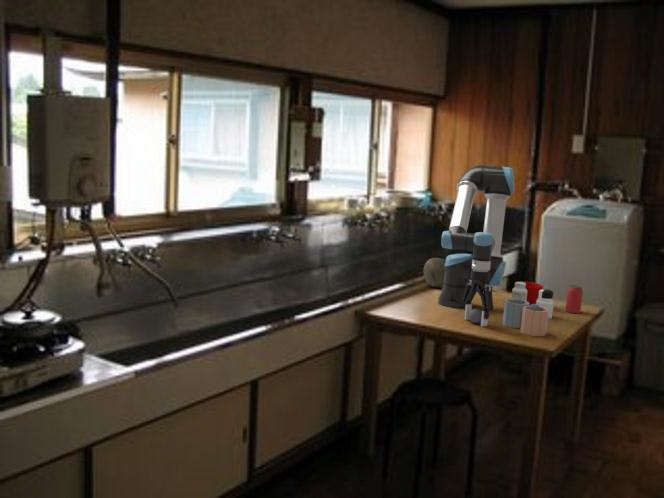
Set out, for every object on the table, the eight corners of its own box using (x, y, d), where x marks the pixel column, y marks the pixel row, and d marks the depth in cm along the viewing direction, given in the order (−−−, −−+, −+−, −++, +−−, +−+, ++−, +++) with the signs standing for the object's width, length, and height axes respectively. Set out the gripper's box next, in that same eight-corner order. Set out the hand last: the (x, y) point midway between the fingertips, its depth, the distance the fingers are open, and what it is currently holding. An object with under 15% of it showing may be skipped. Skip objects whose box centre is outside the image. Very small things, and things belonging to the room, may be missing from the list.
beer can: (581, 314, 334) (584, 288, 332) (566, 312, 336) (569, 287, 334) (579, 311, 341) (582, 285, 339) (564, 309, 342) (567, 284, 340)
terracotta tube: (515, 330, 298) (517, 306, 297) (534, 328, 303) (536, 305, 301) (532, 337, 290) (534, 312, 288) (551, 335, 295) (553, 310, 293)
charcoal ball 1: (465, 321, 307) (466, 307, 306) (476, 320, 310) (477, 307, 309) (474, 325, 302) (475, 311, 301) (485, 324, 305) (487, 310, 304)
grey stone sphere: (455, 289, 373) (457, 259, 371) (433, 290, 366) (436, 261, 363) (437, 283, 385) (439, 255, 382) (415, 284, 377) (418, 256, 375)
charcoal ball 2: (525, 320, 295) (522, 306, 299) (536, 322, 298) (533, 308, 301) (535, 314, 291) (531, 300, 294) (546, 316, 294) (543, 302, 297)
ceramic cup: (533, 300, 357) (536, 280, 355) (544, 309, 340) (547, 288, 338) (507, 299, 356) (509, 279, 355) (517, 307, 339) (519, 286, 338)
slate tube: (497, 322, 309) (499, 299, 307) (515, 321, 314) (518, 298, 312) (513, 328, 301) (515, 305, 299) (531, 327, 305) (534, 303, 304)
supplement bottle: (515, 308, 339) (518, 280, 337) (528, 311, 334) (531, 283, 332) (507, 309, 334) (510, 282, 332) (520, 313, 329) (523, 285, 327)
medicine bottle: (552, 316, 328) (555, 289, 326) (551, 319, 321) (554, 292, 319) (535, 313, 330) (538, 287, 328) (534, 317, 323) (537, 290, 321)
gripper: (456, 265, 310) (451, 316, 314) (491, 276, 291) (486, 330, 294) (470, 264, 314) (465, 315, 318) (506, 275, 294) (500, 329, 298)
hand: (475, 322), depth 306 cm, fingers open, 10 cm apart
